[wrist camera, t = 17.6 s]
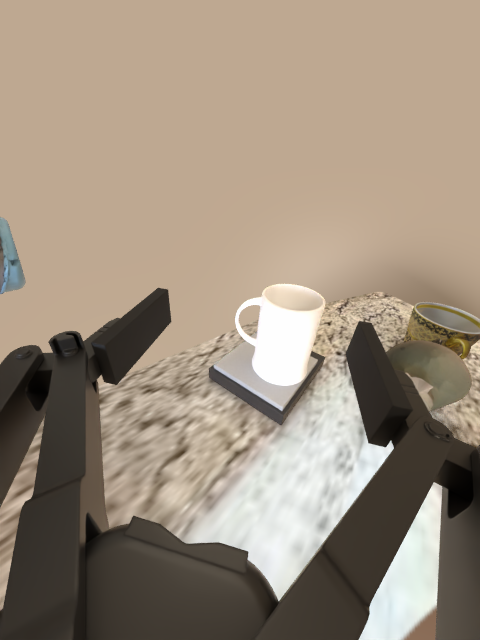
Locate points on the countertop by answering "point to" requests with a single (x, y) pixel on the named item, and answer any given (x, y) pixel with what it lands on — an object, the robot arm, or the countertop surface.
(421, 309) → the ceramic cup
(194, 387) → the countertop surface
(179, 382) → the countertop surface
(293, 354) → the mug
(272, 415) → the scale
